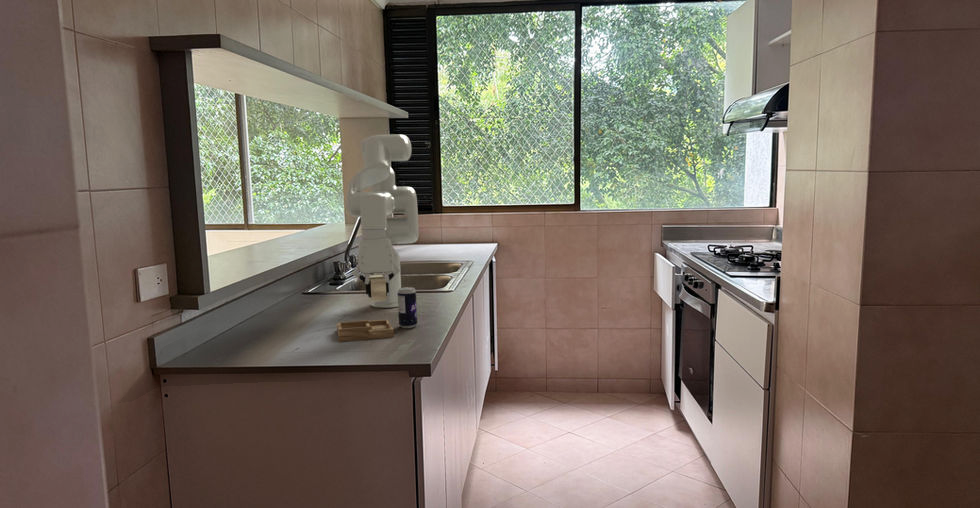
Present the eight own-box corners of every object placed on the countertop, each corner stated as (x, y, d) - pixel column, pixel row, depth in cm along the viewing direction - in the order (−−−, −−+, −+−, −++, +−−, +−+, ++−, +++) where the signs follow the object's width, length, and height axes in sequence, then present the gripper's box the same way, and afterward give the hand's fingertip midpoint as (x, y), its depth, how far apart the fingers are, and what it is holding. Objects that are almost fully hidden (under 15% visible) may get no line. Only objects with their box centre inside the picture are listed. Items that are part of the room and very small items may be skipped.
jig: (336, 330, 199) (336, 321, 198) (387, 326, 203) (387, 316, 202) (339, 341, 185) (338, 331, 185) (393, 336, 189) (393, 326, 189)
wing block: (369, 295, 198) (368, 275, 197) (382, 294, 199) (381, 275, 198) (372, 301, 188) (371, 280, 187) (386, 300, 189) (385, 279, 189)
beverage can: (414, 328, 198) (412, 290, 197) (396, 328, 199) (394, 290, 198) (419, 324, 204) (418, 286, 202) (402, 324, 205) (400, 286, 203)
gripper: (401, 232, 197) (403, 291, 199) (344, 235, 193) (348, 296, 195) (404, 234, 190) (407, 296, 192) (346, 237, 186) (349, 300, 188)
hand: (377, 295), depth 194 cm, fingers closed on wing block, 4 cm apart
